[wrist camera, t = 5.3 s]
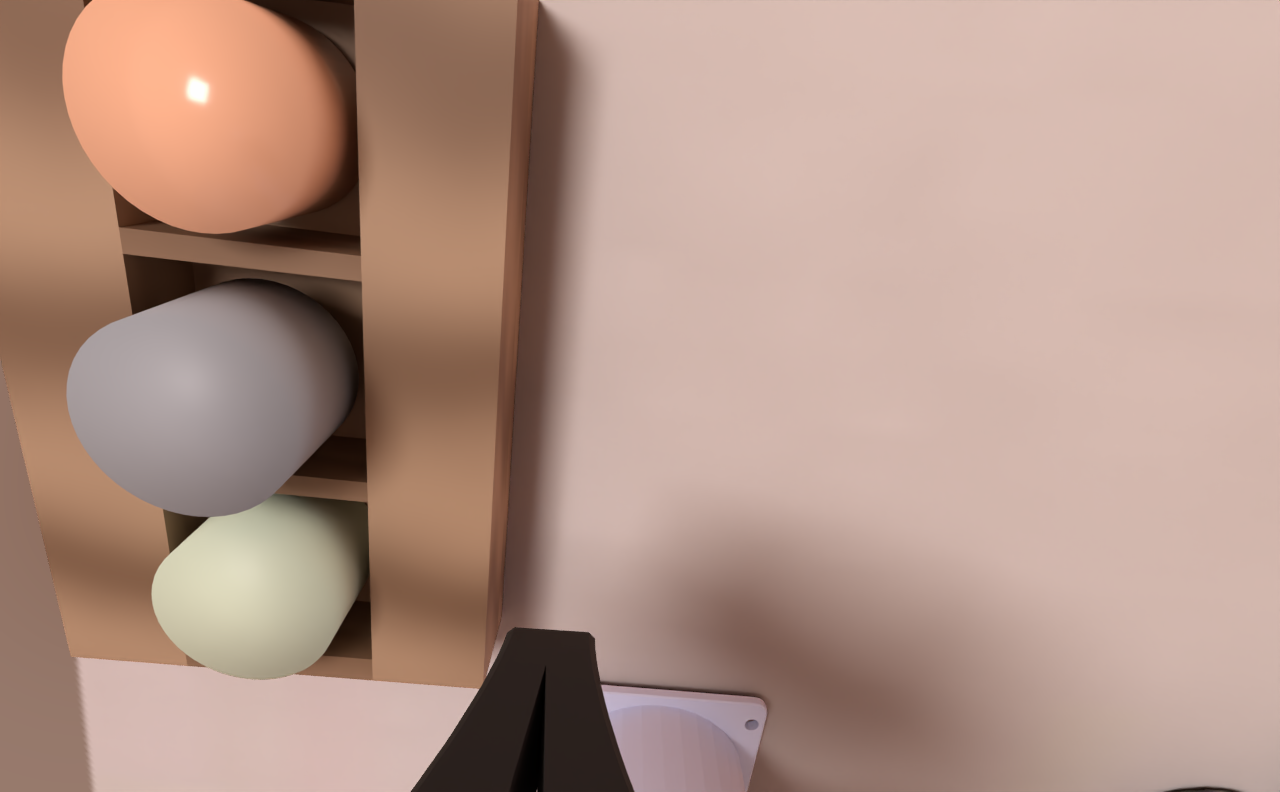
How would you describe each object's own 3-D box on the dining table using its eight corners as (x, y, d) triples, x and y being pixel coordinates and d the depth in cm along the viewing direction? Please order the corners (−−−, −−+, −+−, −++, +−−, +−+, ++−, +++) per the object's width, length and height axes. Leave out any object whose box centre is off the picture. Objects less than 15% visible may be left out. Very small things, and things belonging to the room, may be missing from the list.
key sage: (381, 602, 22) (337, 686, 18) (235, 589, 21) (164, 672, 18) (379, 477, 20) (331, 544, 17) (219, 461, 20) (139, 526, 16)
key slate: (361, 455, 18) (303, 526, 15) (186, 438, 18) (88, 506, 15) (356, 289, 16) (289, 327, 13) (162, 267, 16) (45, 301, 13)
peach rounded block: (373, 225, 17) (315, 246, 14) (189, 202, 17) (84, 218, 14) (370, 24, 16) (302, -5, 12) (165, -5, 15) (40, -43, 12)
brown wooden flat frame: (501, 616, 23) (482, 689, 20) (146, 585, 23) (70, 656, 20) (538, -1, 16) (519, -32, 13) (30, -75, 16) (-115, -126, 13)
